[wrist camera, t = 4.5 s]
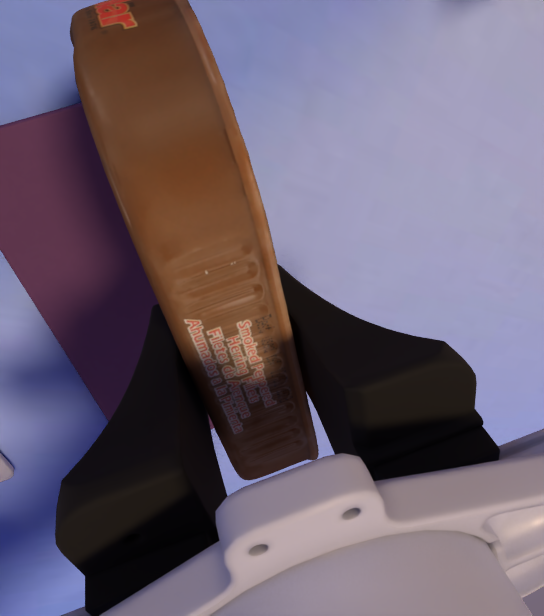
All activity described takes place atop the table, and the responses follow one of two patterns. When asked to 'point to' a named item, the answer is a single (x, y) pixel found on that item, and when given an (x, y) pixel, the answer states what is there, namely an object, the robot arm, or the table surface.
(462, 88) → the table surface
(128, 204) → the tin
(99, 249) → the purple rectangular board
